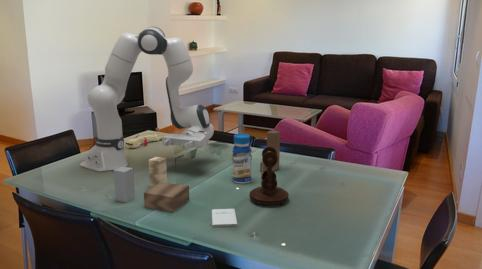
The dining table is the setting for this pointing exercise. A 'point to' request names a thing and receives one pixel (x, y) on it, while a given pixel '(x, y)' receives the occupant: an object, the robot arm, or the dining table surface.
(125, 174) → the grey block
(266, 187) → the dark brown tall piece
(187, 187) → the walnut base block
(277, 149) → the wooden block
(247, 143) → the beverage bottle
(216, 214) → the external hard drive
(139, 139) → the cat figure
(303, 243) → the dining table surface
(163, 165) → the maple block
